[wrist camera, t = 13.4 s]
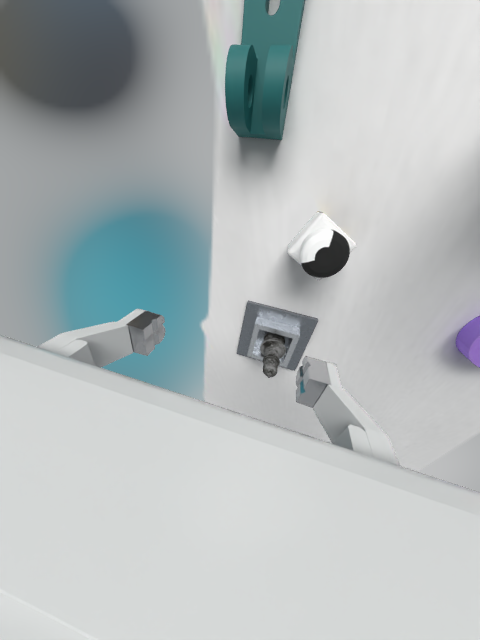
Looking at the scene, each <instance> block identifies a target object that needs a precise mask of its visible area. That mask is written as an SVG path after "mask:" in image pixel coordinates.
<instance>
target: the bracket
mask: <svg viewBox="0 0 480 640" xmlns="http://www.w3.org/2000/svg"><path fill="white" fill-rule="evenodd" d="M304 4H305V0H280V6H279V9H278V11H277V12H276V13H275V14H274V15H272V16H270V15H268V9H269V0H244V14H243V29H242V43H241V45H231V46H230V49H229V52H228V56H227V63H226V75H225V96H226V109H227V116H228V121H229V124H230V126H231V128H232V129H233V130H234V131H235V132H236V134H237V135H238V136H239V137H252V138H264V139H277V140H282V136H283V130H284V124H285V118H286V112H287V106H288V100H289V94H290V88H291V82H292V76H293V70H294V64H295V58H296V52H297V46H298V40H299V34H300V28H301V22H302V16H303V10H304Z"/></svg>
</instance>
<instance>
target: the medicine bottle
mask: <svg viewBox="0 0 480 640" xmlns="http://www.w3.org/2000/svg"><path fill="white" fill-rule="evenodd" d="M354 248H356V243H355V242H354V241H353V240H352V239H351V238H350V237H349V236H348V235H346V234H345V233H344V232H343V231H342V230H341V229H340V228H339V227H338V226H337V225H336V224H335V223H334V222H333V221H332V220H331V219H330V218H329V217H328V216H327V215H326V214H324V213H322V212H319V211H317V212H316V213H315V214H314V215H313V216H312V218H311V219H310V220H309V221H308V222H307V223H306V225H305V226H304V227H303V228H302V229H301V230H300V232H299V233H298V234H297V235H296V236H295V237H294V238H293V240H292V241H291V242H290V243H289V245H288V251H287V253H288V255H290V256H291V257H292V258H293V259H294V260H295V261H296V262H298V263H299V264H300V265H301V266H302V267H303V269H304V270H305V271H306V272H307V273H308V274H309V275H311V276H313V277H315V278H316V279H317V280H320V279H321V278H325V277H329V276H332V275H334V274H336V273H337V272H339V271H340V270H341V269H342V268H343V267H344V266H345V264H346V263H347V261H348V258H349V254H350V252H351V251H352V250H353V249H354Z"/></svg>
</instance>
